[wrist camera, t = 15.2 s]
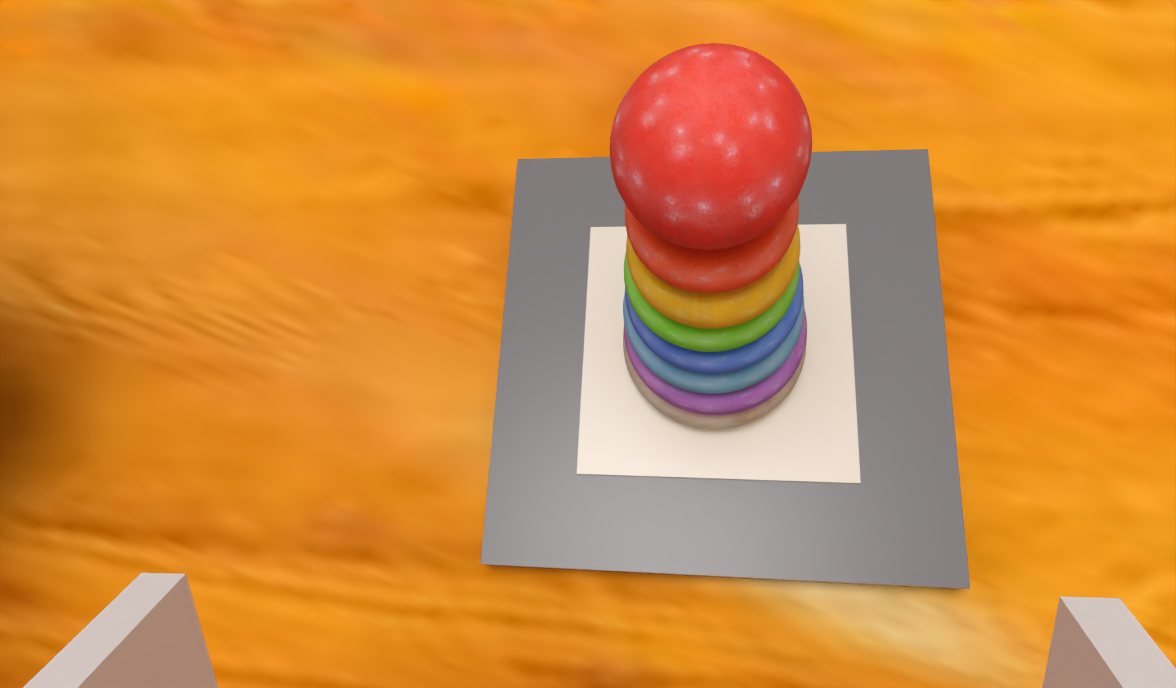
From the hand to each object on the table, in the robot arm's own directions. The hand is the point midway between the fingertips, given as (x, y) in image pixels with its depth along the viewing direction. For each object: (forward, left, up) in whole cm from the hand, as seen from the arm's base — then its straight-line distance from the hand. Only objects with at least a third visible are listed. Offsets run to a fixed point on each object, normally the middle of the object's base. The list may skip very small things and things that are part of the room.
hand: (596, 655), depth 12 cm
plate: (+2, +12, -23) cm, 26 cm away
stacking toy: (+2, +12, -21) cm, 24 cm away
